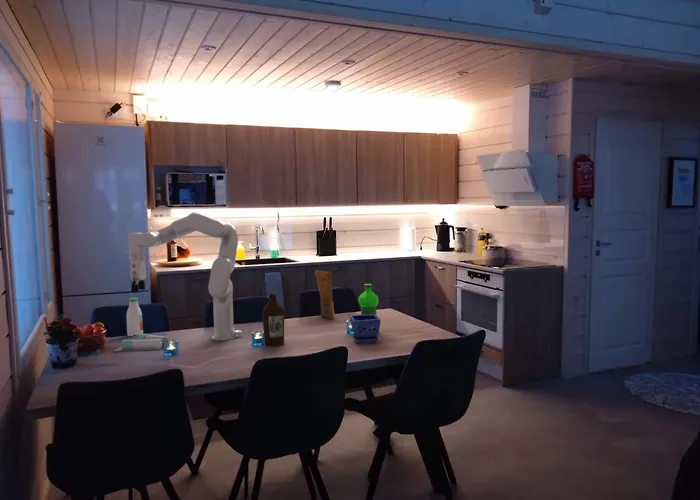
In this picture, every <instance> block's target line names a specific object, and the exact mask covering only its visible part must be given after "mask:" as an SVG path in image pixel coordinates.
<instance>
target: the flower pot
mask: <svg viewBox="0 0 700 500" xmlns="http://www.w3.org/2000/svg"><path fill="white" fill-rule="evenodd" d="M349 321H350V327H351V329H352V332H353V334H351V337H352V338H353V340H354V341H355V343H356V344H359V345H360V344H362V345H363V344H374V343H378V341H379V340H380V339H379V337H378V335H379V332H380V329H381V327H380V326H381V319H380V317H379V316H378V315H377V314H376V315H375V314H365V315H361V314H352V315H350V316H349Z"/></svg>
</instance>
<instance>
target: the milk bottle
mask: <svg viewBox="0 0 700 500" xmlns="http://www.w3.org/2000/svg"><path fill="white" fill-rule="evenodd" d="M128 303H129V305H128V308H127V311H126V333H127V334H126V335H127V336H128V337H129V336H132V337H134V336H133V335H136V336H138V334H142V333H143V334H144V327H143V325H144V324H143V313H142V310H141V308H140V306H139V298H138V297H130V298H128Z"/></svg>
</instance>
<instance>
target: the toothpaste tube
mask: <svg viewBox="0 0 700 500" xmlns="http://www.w3.org/2000/svg"><path fill="white" fill-rule="evenodd" d="M163 337H168V341H169V340H170V336H166V335H165V336H164V335H157V334H156V335H155V334H150V333H144V332H143V333H142V334H138V335H137V340H143V339H162V342H163ZM163 346H164V342H163Z"/></svg>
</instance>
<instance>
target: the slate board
mask: <svg viewBox="0 0 700 500" xmlns="http://www.w3.org/2000/svg"><path fill="white" fill-rule="evenodd" d="M173 340H178V343H179V342H180V341H181V340H182V338H177V339H176V338H175V339H173ZM161 350H164V346H163V349H131V350H122V345H121V346H120V347H118V348H116V349H114V352H130V351H131V352H133V351H135V352H136V351H161Z"/></svg>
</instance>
